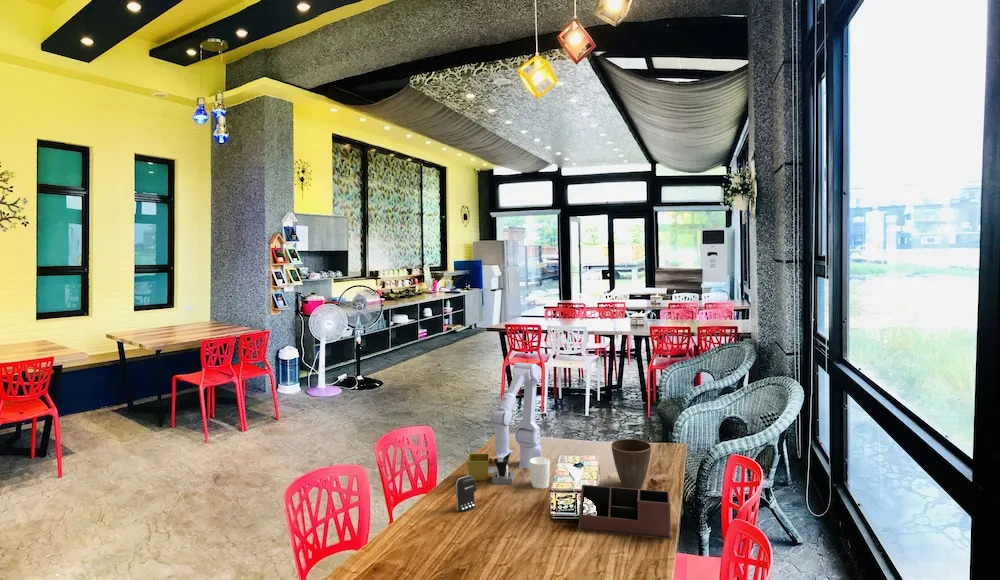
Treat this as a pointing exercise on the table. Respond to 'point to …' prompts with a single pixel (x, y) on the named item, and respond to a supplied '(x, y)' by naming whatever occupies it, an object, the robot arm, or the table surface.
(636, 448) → the plant pot
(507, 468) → the plug
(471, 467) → the flower pot
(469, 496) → the battery charger
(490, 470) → the mat
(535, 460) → the white cup
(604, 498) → the desk organizer
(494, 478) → the socket housing
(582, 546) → the table surface
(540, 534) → the table surface
